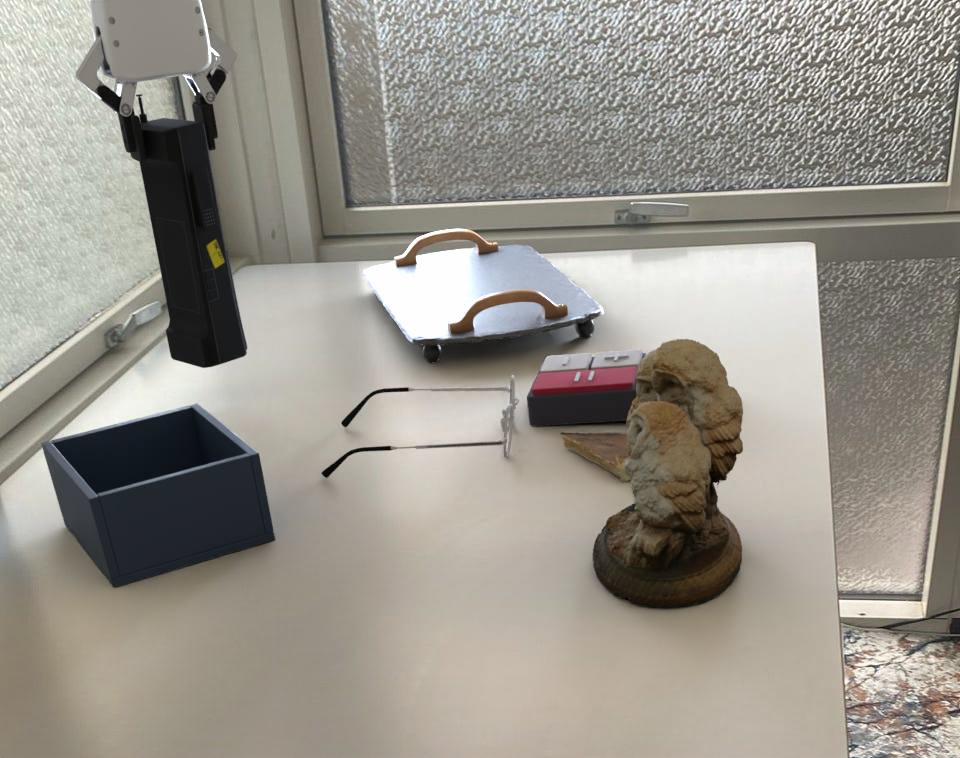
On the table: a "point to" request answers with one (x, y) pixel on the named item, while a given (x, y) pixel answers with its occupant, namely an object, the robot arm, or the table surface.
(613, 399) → the red gray box
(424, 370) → the table surface
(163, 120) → the portable radio
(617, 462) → the shard
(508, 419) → the eyeglasses
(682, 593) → the owl figurine
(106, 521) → the bin
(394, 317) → the serving tray
